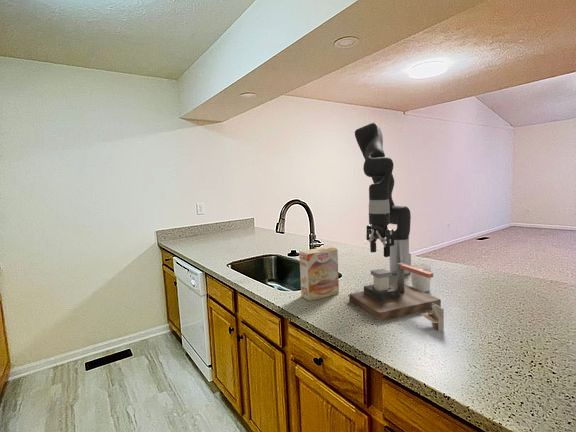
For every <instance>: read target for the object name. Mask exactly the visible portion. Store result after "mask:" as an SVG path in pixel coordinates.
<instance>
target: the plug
mask: <svg viewBox="0 0 576 432" xmlns="http://www.w3.org/2000/svg"><path fill="white" fill-rule="evenodd" d="M370 275H371V276H373V285H374V289H376V290H378V291H384V290H389V285H390V279H389V278H390V277H392V273H391V272H390V270H387V269H384V268H379V269H378V268H377V269H374V270H373V269H372V270H370Z"/></svg>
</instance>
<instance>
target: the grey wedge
mask: <svg viewBox="0 0 576 432" xmlns="http://www.w3.org/2000/svg"><path fill="white" fill-rule="evenodd" d="M430 306H431V305H430ZM431 308H432V310H431V311H430V310H427V312H424V313H422V312H421V313H420V315H421V316H422V317H424V318H425V319H427V320H428V321H429V322H431V324H432V325H433V328H434V330H438V331H437V332H438V333H442V332H444V331H445V330H444V329H445V327H444V326H445V324H444V323H445V321H444V320H445V319H444V316H445V315H444V313H445V312H444V311H445V309H444V308H442V307H439V306H438V305H436V304H434V303H432V307H431ZM441 331H442V332H441Z"/></svg>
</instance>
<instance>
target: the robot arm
mask: <svg viewBox="0 0 576 432" xmlns="http://www.w3.org/2000/svg"><path fill="white" fill-rule="evenodd" d="M354 136H355V137H354V138H355V140H356V142H357V145H358V147H359V149H360V151H361V154H362V156H363V158H364V163H363V168H362V169H363V173H364V175H366V177H368V178H371V180H372V183H371V184H370V185H369V187H368V200H369V201H368V224H369V225H366V234H365V235H366V238H365V239H366V241H368V242H369V245H370V246H369V247H370V253H376V252H377V240H379V241H380V242H381V243H382V245H383V257H384V258H389V271H390V272H391V275H392V274H393V275H395V276H397V263H404V264H406V265H409V266H411V265H412V257H411V256H412V254H411V253H410V233H411V216H412V215H411V214H412V213H411V211H410V208H409V207H408V206H404V205H395V203H394V202H395V201H394V200H393V196H392V194H393V191H394V187H395V178H394V175H393V171H394V162H393V159H392V158H391V157H389V156H386V153H385V152H384V148H383V147H384V146H383V145H384V141H383V140H384V139H383V138H384V137H383V132H382V130H381V128H380V126H379V124H378V123H377V122H371V123H368V124H366V125H364V126H361V127H358V128H357V129H355V131H354ZM388 225H396V229H395V230H394V228H390V229H389V228H388ZM409 274H411V272H410V271H407V270H404V276H405V275H409Z"/></svg>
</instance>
